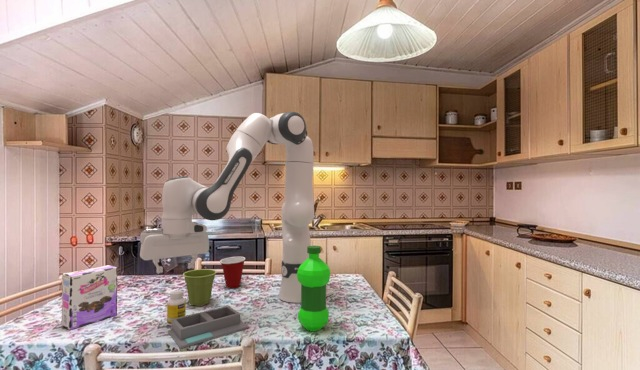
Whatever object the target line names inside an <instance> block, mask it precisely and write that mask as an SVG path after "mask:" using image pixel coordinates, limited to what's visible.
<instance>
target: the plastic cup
mask: <svg viewBox="0 0 640 370" xmlns="http://www.w3.org/2000/svg"><path fill="white" fill-rule="evenodd" d="M245 260H246V257H244V256H230V257H225V258H221V259H220V260H219V263H220V265H221V267H222V272H223V278H224V281H225V286H226V288H227V289H236V288H240V286H241V283H242V277H243V270H244V264H245Z"/></svg>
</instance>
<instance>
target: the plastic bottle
mask: <svg viewBox="0 0 640 370" xmlns="http://www.w3.org/2000/svg"><path fill="white" fill-rule="evenodd" d="M321 248H322V247H321V245H311V246H308V247H307V253H309V258H308V259H307V260H305V261H304V262H303V263H302V264H301V265H300V267H299V269H298V271H297V278H298V281H299V282H300V284H301V303H300V305H301V306H300V308H299V311H298V314H297V320H298V322H299V324H300V325H301V326H303V328H304V329H305V328H306V329H305V330H306V331H309V330H310V332H317V331H316V330H318V331H320V330H322V329H321V328H324V327H326V325H327V324H328V322H329V321H330V320H329V319H330V318H329V317H330V311H329V308H328V306H327V297H326V284H327V285H328V284H329V282H330V278H331V268H330V266H329V265H328V264H327V263H326V262H325V260H323V259H322V258H320V254H322V249H321ZM319 329H320V330H319Z"/></svg>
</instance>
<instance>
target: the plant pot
mask: <svg viewBox="0 0 640 370" xmlns="http://www.w3.org/2000/svg"><path fill="white" fill-rule="evenodd" d="M217 273H218V271H217V270H216V269H210V268H201V269H200V268H199V269H190V270H188V271H185V272H183V274H182V276H183V277H184V282H185V283H186V284H185V285H186V286H185V287H186V290H187V295H188V296H187V298H188V303H189V305H190V306H196V307H200V306H205V305H207V304H209V303H210V301H211V298H212V297H211V296H212V292H213V291H212V290H213V285H214V280H215V278H216V277H215V276H216V275H217Z"/></svg>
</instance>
